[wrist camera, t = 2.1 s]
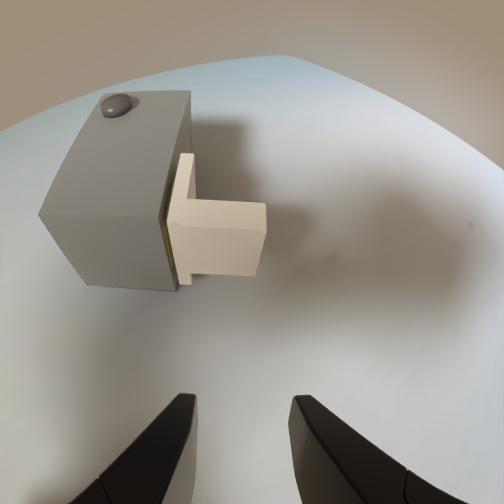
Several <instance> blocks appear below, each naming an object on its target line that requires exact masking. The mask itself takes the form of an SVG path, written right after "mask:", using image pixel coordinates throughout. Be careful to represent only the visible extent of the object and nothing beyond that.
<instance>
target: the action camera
mask: <svg viewBox="0 0 504 504" xmlns="http://www.w3.org/2000/svg"><path fill="white" fill-rule="evenodd" d="M181 153H192V134H191V91H139V92H122V93H109V94H103V96H102V97H101V99H100V100H99V102H98V103H97V105H96V106H95V108H94V109H93V111H92V112H91V114H90V116H89V117H88V119H87V121H86V122H85V124H84V125H83V127H82V129H81V130H80V132H79V134H78V136H77V137H76V139H75V141H74V143H73V144H72V146H71V148H70V150H69V152H68V153H67V155H66V157H65V159H64V161H63V163H62V165H61V167H60V169H59V171H58V173H57V175H56V177H55V179H54V181H53V183H52V185H51V187H50V189H49V191H48V194H47V196H46V198H45V200H44V202H43V205H42V207H41V209H40V212H39V214H38V215H39V217H40V219H41V220H42V222H43V223H44V225H45V226H46V228H47V230H48V231H49V233H50V234H51V236H52V237H53V239H54V240H55V242H56V243H57V245H58V246H59V247H60V249H61V250H62V252H63V253H64V255H65V256H66V258H67V259H68V260H69V262H70V263H71V264H72V266H73V267H74V269H75V270H76V271H77V273H78V274H79V275H80V277H81V278H82V279H83V281H84V282H85V283H86V285H97V286H109V287H121V288H133V289H147V290H161V291H176V285H177V276H178V275H177V270H176V265H175V261H174V256H173V251H172V246H171V241H170V236H169V231H168V226H167V217H168V212H169V207H170V202H171V197H172V192H173V187H174V182H175V177H176V173H177V168H178V164H179V159H180V155H181Z"/></svg>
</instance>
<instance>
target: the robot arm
mask: <svg viewBox="0 0 504 504" xmlns="http://www.w3.org/2000/svg"><path fill="white" fill-rule="evenodd" d="M197 424H198V419H197V397H196V395H195V394H186V393H180V394H178V395H177V396H176V397H175V398H174V399H173V400H172V401H171V403H170V404H169V405H168V406H167V407H166V408H165V409H164V410H163V411H162V412H161V413H160V414H159V415H158V416H157V417H156V418H155V419H154V420H153V422H152V423H151V424H150V425H149V426H148V427H147V428H146V429H145V430H144V431H143V432H142V433H141V434H140V435H139V436H138V437H137V438H136V439H135V440H134V441H133V442H132V443H131V444H130V445H129V446H128V447H127V448H126V449H125V450H124V451H123V452H122V453H121V454H120V455H119V456H118V457H117V458H116V459H115V460H114V461H113V462H112V463H111V464H110V465H109V466H108V467H107V468H106V469H105V470H104V471H103V472H102V473H101V474H100V475H99V478H96V479H95V480H94V481H93V482H92V483H91V484H90V485H89V486H88V487H87V488H86V489H84V490H83V491H82V492H81V493H80V494H79V495H78V496H77V497H75V498H74V499H73V500H72V501H71V502H70V503H68V504H191V498H192V493H193V487H194V481H195V471H196V447H197ZM288 426H289V435H290V442H291V450H292V458H293V466H294V473H295V478H296V482H297V486H298V490H299V493H300V497H301V501H302V504H468V503H466V502H464V501H462V500H459V499H457V498H455V497H453V496H451V495H449V494H448V493H446V492H444V491H442V490H440V489H438V488H436V487H435V486H433V485H432V484H430V483H428V482H427V481H425V480H424V479H422V478H420V477H419V476H417V475H416V474H415V473H413V472H412V471H410V470H407V468H406V467H404V466H403V465H401V464H400V463H399V462H397V461H396V460H394V459H393V458H392V457H390V456H389V455H387V454H386V453H385V452H383V451H382V450H381V449H379V448H378V447H377V446H375V445H374V444H373V443H371V442H370V441H369V440H367V439H366V438H365V437H363V436H362V435H361V434H359V433H358V432H357V431H355V430H354V429H353V428H351V427H350V426H349V425H348V424H346V423H345V422H344V421H342V420H341V419H340V418H339V417H337V416H336V415H335V414H334V413H332V412H331V411H330V410H329V409H327V408H326V407H325V406H324V405H322V404H321V403H320V402H319V401H317V400H316V399H315V398H314V397H312V396H311V395H296V396H294V398H293V400H292V405H291V410H290V415H289V421H288Z"/></svg>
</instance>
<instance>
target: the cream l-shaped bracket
mask: <svg viewBox="0 0 504 504" xmlns="http://www.w3.org/2000/svg"><path fill="white" fill-rule="evenodd" d="M167 226H168V231H169V236H170V241H171V246H172V251H173V256H174V261H175V265H176V270H177V275H178V279H179V284H180V285H192V274H193V273H196V274H215V275H236V276H256V272H257V268H258V264H259V260H260V256H261V252H262V248H263V244H264V240H265V236H266V232H267V220H266V203H255V202H239V201H221V200H200V199H196V182H195V155H194V154H193V153H181V155H180V159H179V164H178V168H177V173H176V177H175V182H174V187H173V192H172V197H171V202H170V207H169V212H168V217H167Z"/></svg>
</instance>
